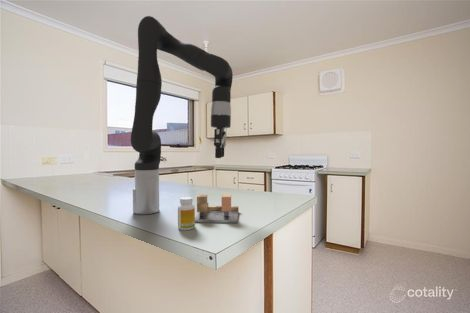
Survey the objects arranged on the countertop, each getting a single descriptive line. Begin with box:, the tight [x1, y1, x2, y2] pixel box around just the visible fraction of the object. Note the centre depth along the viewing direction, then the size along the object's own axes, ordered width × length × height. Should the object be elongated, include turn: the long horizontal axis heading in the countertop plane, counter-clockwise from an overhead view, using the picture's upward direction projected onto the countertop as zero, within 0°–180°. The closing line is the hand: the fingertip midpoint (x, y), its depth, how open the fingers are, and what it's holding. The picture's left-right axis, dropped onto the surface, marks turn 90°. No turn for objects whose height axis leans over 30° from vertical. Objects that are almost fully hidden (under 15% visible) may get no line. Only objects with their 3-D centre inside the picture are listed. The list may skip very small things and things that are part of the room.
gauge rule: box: [196, 194, 239, 216], centre depth 89 cm, size 15×11×8 cm
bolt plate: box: [195, 211, 239, 224], centre depth 87 cm, size 15×11×1 cm
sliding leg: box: [221, 194, 232, 216], centre depth 86 cm, size 3×4×7 cm
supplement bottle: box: [177, 196, 196, 231], centre depth 76 cm, size 5×5×10 cm
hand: (219, 157), depth 90 cm, fingers open, 8 cm apart
